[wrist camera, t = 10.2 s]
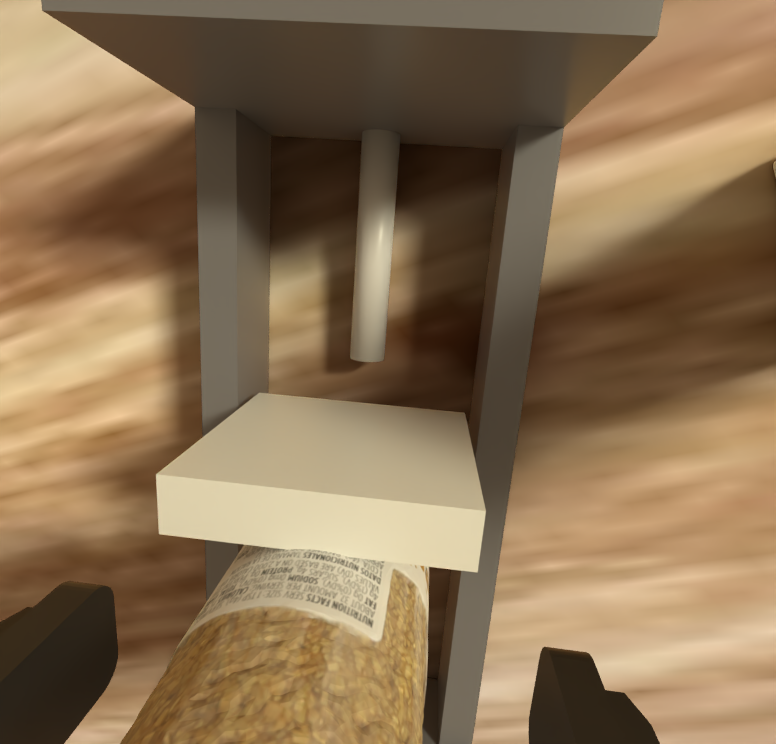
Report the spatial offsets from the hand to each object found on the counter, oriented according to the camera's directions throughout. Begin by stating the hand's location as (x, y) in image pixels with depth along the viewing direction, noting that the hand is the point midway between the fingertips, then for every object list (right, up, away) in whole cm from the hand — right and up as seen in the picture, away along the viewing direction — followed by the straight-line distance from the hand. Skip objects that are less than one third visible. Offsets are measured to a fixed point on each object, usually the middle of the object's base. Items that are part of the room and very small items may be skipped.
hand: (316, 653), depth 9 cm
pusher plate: (+1, +4, +5) cm, 6 cm away
